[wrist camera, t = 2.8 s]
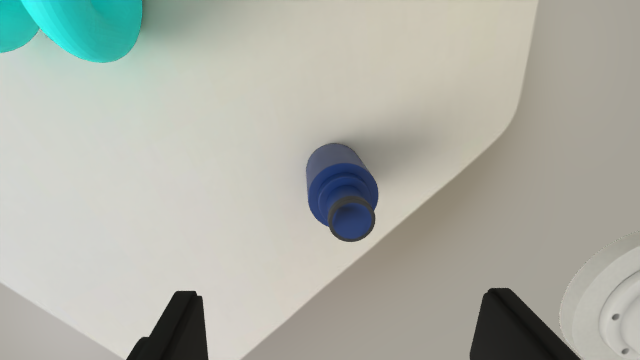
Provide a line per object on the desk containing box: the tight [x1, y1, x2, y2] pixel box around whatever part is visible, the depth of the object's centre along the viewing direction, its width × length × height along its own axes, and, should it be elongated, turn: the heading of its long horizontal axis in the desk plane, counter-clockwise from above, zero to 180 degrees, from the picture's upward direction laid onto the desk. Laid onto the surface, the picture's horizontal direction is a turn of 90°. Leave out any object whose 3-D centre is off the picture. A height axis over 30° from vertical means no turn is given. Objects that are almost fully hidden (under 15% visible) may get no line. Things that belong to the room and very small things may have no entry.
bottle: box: [306, 144, 378, 242], centre depth 24 cm, size 5×5×11 cm
